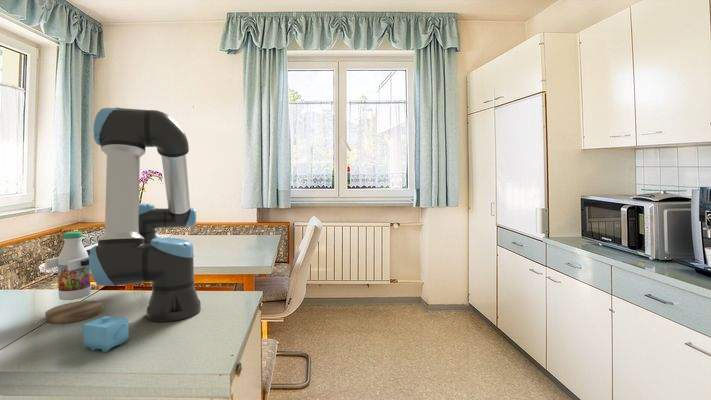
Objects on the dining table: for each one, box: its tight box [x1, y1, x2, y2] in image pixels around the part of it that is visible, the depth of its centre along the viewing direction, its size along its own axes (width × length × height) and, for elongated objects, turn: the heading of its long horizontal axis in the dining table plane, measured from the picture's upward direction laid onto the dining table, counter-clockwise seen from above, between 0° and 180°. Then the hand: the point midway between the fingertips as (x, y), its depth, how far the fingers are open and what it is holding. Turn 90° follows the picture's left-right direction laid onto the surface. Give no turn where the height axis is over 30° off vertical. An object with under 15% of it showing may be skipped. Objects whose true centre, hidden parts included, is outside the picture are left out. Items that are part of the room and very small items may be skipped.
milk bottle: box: [57, 231, 92, 301], centre depth 109 cm, size 8×8×20 cm
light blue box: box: [82, 315, 130, 353], centre depth 88 cm, size 12×6×8 cm, turn 76°
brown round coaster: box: [44, 300, 104, 325], centre depth 110 cm, size 14×14×2 cm
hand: (57, 265), depth 104 cm, fingers closed on milk bottle, 7 cm apart
